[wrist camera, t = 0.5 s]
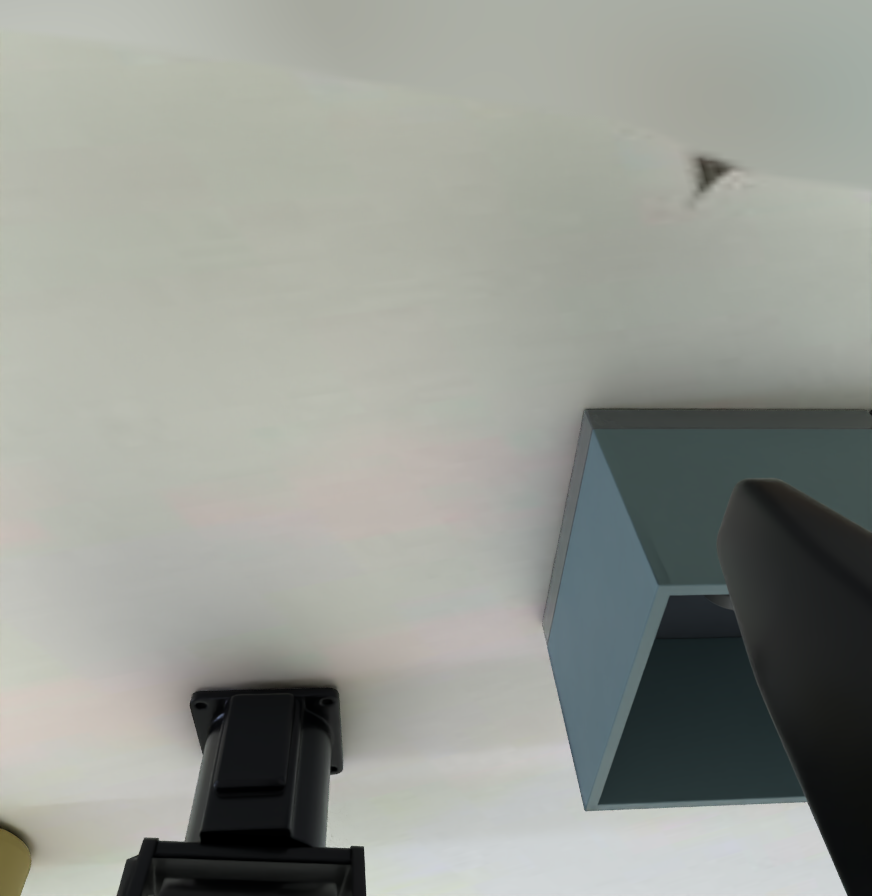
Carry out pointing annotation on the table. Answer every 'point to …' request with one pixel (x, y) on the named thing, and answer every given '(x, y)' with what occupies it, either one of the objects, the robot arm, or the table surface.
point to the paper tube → (13, 864)
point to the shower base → (684, 611)
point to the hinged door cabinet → (644, 601)
